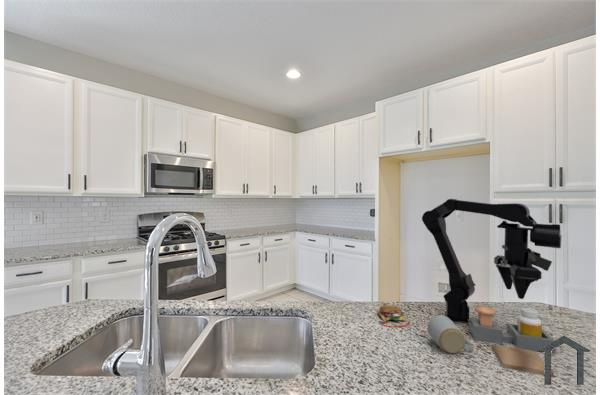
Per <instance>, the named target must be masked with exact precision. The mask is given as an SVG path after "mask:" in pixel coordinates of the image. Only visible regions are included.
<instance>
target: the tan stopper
mask: <svg viewBox="0 0 600 395" xmlns="http://www.w3.org/2000/svg"><path fill="white" fill-rule="evenodd" d="M474 307H475V309H474V311H475V312H477V313H478V314H477V315H478V317H477V318H478V323H479V324H480V325H484V326H491V327H492V320H493V316H495V315H496V309H495V308H494V307H493V308H492V307H490V306H486V305H475V306H474Z"/></svg>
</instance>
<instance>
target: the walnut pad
mask: <svg viewBox="0 0 600 395" xmlns="http://www.w3.org/2000/svg"><path fill="white" fill-rule="evenodd" d="M491 349H492V351H493V352H494V354H495V356H496V357H497V360H498V361H499V363H500V365H501V367H502V368H505V369H509V370H516V371H520V372H526V373H531V374H537V375H541V374H542V376H545V375H544V362H545V361H544V359H543V358H542V357H541V356H540V355H539V354H538V351H533V350H527V349H521V348H517V347H510V346H504V345H500V344H498V345H497V344H494V343H492V344H491ZM550 377H552V378H554V377H555V372H554V371H553V370H552V369H551V376H550Z"/></svg>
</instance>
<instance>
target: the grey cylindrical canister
mask: <svg viewBox="0 0 600 395" xmlns="http://www.w3.org/2000/svg"><path fill="white" fill-rule="evenodd" d="M427 332H428V334H429V336H430V337H431V338H432V339H433V342H435V343H436V345H438V347H439V348H440V349H441V350H442V351H444V352H445V353H448V354H457V353H460V352H461V351H462V350H464V351H468V352H472V351H473V348H474V345H473V344H472V343H471V342H470V341H469V340H467V339H466V337H465V335H464V333H463V332H462V331H461V329H460V328H458V326H457V325H456V324H455V323H454V321H452V320H450V319H449V318H448V317H446V315H442V314H439V315H438V314H437V315H435V316H432V317H431V318H430V320H428V323H427Z"/></svg>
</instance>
